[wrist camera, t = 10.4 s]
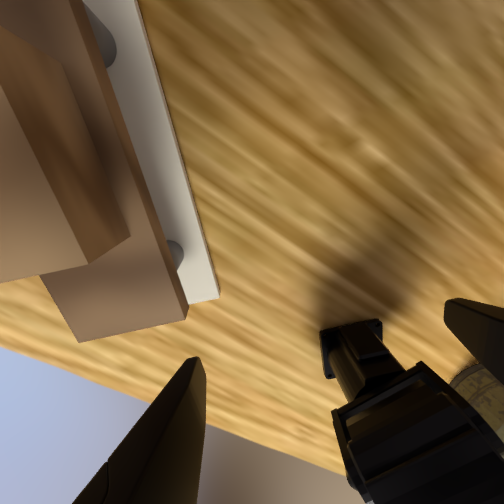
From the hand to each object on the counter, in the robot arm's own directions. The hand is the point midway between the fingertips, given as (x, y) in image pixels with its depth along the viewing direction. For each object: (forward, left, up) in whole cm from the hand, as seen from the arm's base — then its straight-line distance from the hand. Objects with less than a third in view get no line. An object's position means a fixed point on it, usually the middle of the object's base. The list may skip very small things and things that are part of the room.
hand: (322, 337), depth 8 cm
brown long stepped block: (+8, +10, -8) cm, 15 cm away
